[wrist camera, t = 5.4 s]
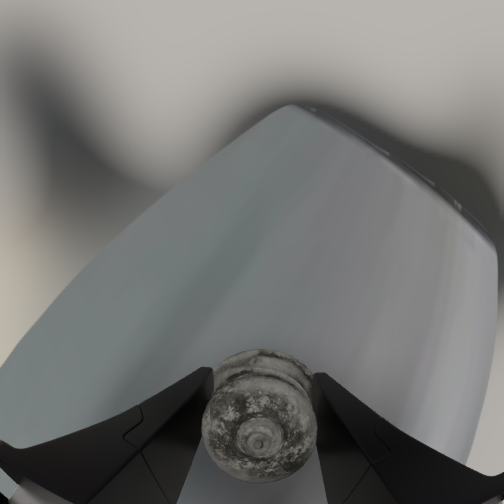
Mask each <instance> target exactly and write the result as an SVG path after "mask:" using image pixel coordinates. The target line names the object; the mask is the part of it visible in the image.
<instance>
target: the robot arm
mask: <svg viewBox="0 0 504 504" xmlns="http://www.w3.org/2000/svg"><path fill="white" fill-rule="evenodd" d="M213 392H214V376H213V369H212V368H210V367H200V368H199V369H197V370H196V371H194V372H192V373H191V374H189V375H188V376H186V377H184V378H183V379H181V380H179V381H178V382H176V383H174V384H173V385H171V386H169V387H168V388H166V389H164V390H163V391H161V392H159V393H158V394H156V395H154V396H152V397H151V398H149V399H147V400H146V401H144V402H142V403H140V404H139V405H136V406H134V407H132V408H131V409H129V410H127V411H125V412H123V413H121V414H119V415H117V416H114V417H112V418H110V419H107V420H105V421H102V422H100V423H97V424H95V425H92V426H90V427H87V428H84V429H82V430H79V431H76V432H74V433H71V434H68V435H65V436H62V437H59V438H57V439H54V440H51V441H48V442H44V443H41V444H38V445H35V446H32V447H28V448H24V449H17V448H14V447H12V446H10V445H9V444H7V443H6V442H4V441H2V440H0V467H1V468H2V470H3V471H4V472H5V473H6V474H7V475H8V476H9V477H10V478H12V479H13V480H14V481H15V482H16V483H17V484H18V485H17V486H16V488H15V490H14V491H13V493H12V495H11V497H10V498H9V499H8V498H7V497H5V496H4V495H3V494H2V493H1V492H0V504H176V503H177V500H178V498H179V495H180V493H181V490H182V487H183V485H184V482H185V480H186V477H187V474H188V472H189V469H190V466H191V464H192V461H193V458H194V456H195V453H196V450H197V448H198V445H199V442H200V440H201V437H202V432H201V428H202V418H203V414H204V412H205V409H206V407H207V404H208V402H209V401H210V398H211V396H212V394H213ZM311 403H312V407H313V411H314V413H315V417H316V422H317V427H318V428H317V438H316V446H317V451H318V455H319V460H320V465H321V471H322V476H323V481H324V486H325V491H326V496H327V502H328V504H502V501H503V500H504V472H503V473H501V474H499V475H496V476H486V475H483V474H481V473H479V472H477V471H475V470H473V469H471V468H469V467H467V466H465V465H463V464H461V463H459V462H457V461H455V460H453V459H451V458H449V457H447V456H445V455H444V454H442V453H440V452H438V451H436V450H434V449H432V448H431V447H429V446H427V445H425V444H423V443H422V442H420V441H418V440H416V439H414V438H413V437H411V436H409V435H408V434H406V433H404V432H403V431H401V430H399V429H398V428H397V427H395V426H394V425H392V424H391V423H389V422H388V421H387V420H385V419H384V418H383V417H381V416H380V415H378V414H377V413H376V412H374V411H373V410H372V409H370V408H369V407H368V406H367V405H365V404H364V403H363V402H361V401H360V400H359V399H358V398H356V397H355V396H354V395H353V394H351V393H350V392H349V391H348V390H346V389H345V388H344V387H342V386H341V385H340V384H339V383H338V382H336V381H335V380H334V379H333V378H331V377H330V376H329V375H328V374H326V373H315V374H314V376H313V381H312V386H311Z"/></svg>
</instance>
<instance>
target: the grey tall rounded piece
mask: <svg viewBox="0 0 504 504" xmlns="http://www.w3.org/2000/svg"><path fill="white" fill-rule="evenodd" d="M213 376H214V392H213V394H212V396H211V398H210V401H209V402H208V404H207V407H206V409H205V412H204V414H203V418H202V428H201V432H202V437H203V442H204V446H205V448H206V450H207V452H208V454H209V456H210V458H211V459H212V460H213V461H214V462H215V464H216V465H217V466H218V467H219V468H220V469H221V470H223V471H224V472H226V473H228V474H229V475H231V476H232V477H235V478H237V479H240V480H243V481H246V482H254V483H267V482H273V481H278V480H280V479H283V478H285V477H288V476H290V475H292V474H293V473H294V472H296V471H297V470H298V469H300V468H301V467H302V466H303V465H304V464H305V462H306V461H307V460H308V458H309V457H310V456H311V453H312V451H313V449H314V446H315V444H316V438H317V428H318V427H317V422H316V417H315V413H314V411H313V407H312V403H311V386H312V381H313V376H314V375H313V374H312V373H311V372H310V370H309V369H308V368H307V367H306V366H305V365H304V364H303V363H301V362H300V361H298V360H296V359H295V358H293V357H292V356H290V355H287V354H284V353H281V352H278V351H275V350H263V349H257V350H250V351H244V352H241V353H238V354H236V355H234V356H231V357H229V358H227V359H225V360H224V361H223V362H222V363H220V364H219V365H218V366H216V367H215V368H214V369H213Z"/></svg>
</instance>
